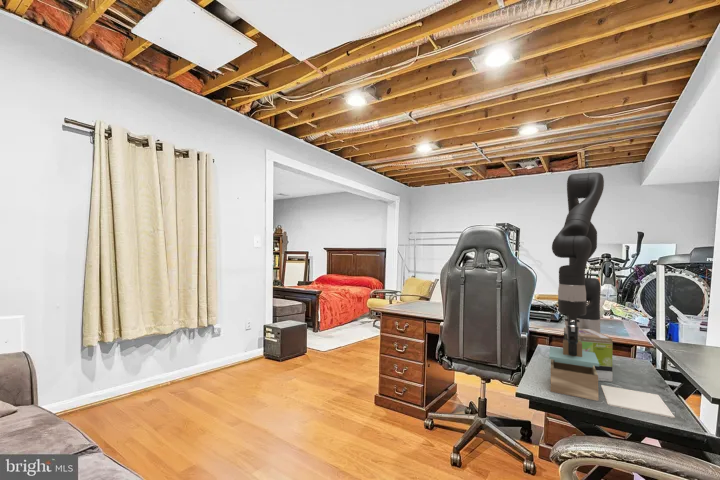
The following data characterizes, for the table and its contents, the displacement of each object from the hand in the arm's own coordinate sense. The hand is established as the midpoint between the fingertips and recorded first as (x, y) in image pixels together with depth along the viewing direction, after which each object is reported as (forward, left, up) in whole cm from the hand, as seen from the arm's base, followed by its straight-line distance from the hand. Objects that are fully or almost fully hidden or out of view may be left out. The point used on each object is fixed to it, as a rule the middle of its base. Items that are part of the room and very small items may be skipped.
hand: (572, 353), depth 105 cm
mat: (0, +15, -11) cm, 19 cm away
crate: (0, 0, -11) cm, 11 cm away
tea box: (-20, +5, -11) cm, 23 cm away
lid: (0, 0, -2) cm, 2 cm away
